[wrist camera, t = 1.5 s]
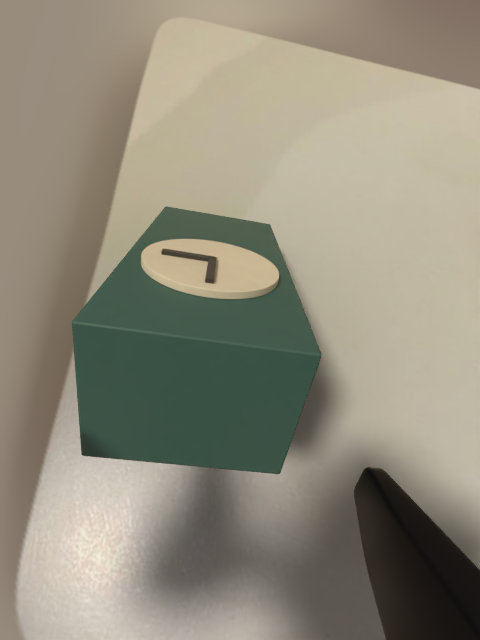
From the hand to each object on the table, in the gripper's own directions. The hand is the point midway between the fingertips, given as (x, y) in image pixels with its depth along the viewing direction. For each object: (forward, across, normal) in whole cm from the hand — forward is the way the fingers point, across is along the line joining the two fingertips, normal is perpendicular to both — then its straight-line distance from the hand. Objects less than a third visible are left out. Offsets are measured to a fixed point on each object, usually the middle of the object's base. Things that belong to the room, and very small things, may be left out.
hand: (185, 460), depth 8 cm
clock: (+14, 0, +5) cm, 14 cm away
